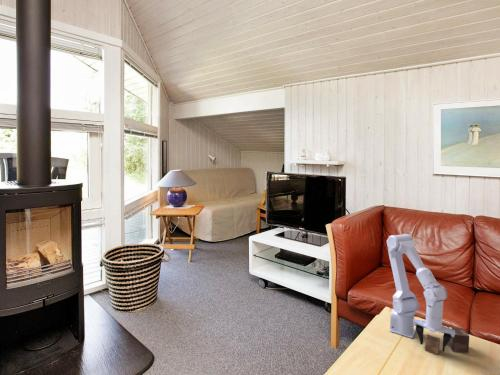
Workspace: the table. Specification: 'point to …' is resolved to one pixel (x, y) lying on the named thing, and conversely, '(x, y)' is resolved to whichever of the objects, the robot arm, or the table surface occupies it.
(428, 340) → the walnut block
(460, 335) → the box
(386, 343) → the table surface
